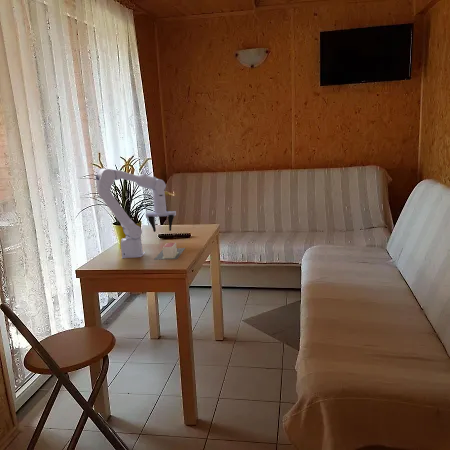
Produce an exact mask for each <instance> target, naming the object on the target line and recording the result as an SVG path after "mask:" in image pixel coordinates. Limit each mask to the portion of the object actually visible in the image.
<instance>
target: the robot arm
mask: <svg viewBox="0 0 450 450" xmlns="http://www.w3.org/2000/svg"><path fill="white" fill-rule="evenodd" d="M94 179H95V183H96V190H97V191H96V192H97V194H98V196H99V197H100V198H101V200H102V202H103V203H104V204H105V205H106V207H108V209H109V210H110V211H111V213H112V214H113V216H115V218H116V220H117V221H118V222H119V223H120V226H121V227H122V230H123V234H125V237H124V238H123V237H122V238H121V239H120V249H121V259H129V258H130V259H132V258H141V257H143V256H144V255H145V254H146V251H143V243H142V233H143V230H142V227H141V226H140V225H137V224H136V223H135V222H134V221H133V220H132V219H131V217H130V216H129V215H128V214H127V212H126V211H125V210H124V208H123V207H122V205H121V204H120V203H119V201H118V200H117V199H116V198H115V196H114V195H113V194H112V192H111V189H112V186H113V184H114V182H115V181H119V180H126V181H130V182H132V183H133V182H134V183H136V185H137V187H141V188H145V189H147V190H148V189H149V190H152V201H153V210H154V211H153V212H146V213H145V219H147V220H148V222H149V224H150V225H151V227H152V229H153V233H155V232H156V231H157V230H156V221H155V220H156V219H155V218H159V217H167V219H168V230H169V231H170V232H171V231H172V225H173V221H174V219H175V216H177V211H176V210H174V211H173V210H172V211H171V210H169V211H168V210H167V204H166V203H167V201H166V193H165V190H166V187H167V184H166V182H165V181H164V179H160V178H157V177H156V176H149V175H147V173H143V174H142V173H140V174H139V175H135V174H133V173H130V172H127V171H123V170H119V169H111V168H104V167H101V168H99V169H98V170H97V172H96V175H95V178H94Z"/></svg>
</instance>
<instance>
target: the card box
mask: <svg viewBox="0 0 450 450" xmlns="http://www.w3.org/2000/svg"><path fill="white" fill-rule="evenodd" d="M162 250H163V257H164V258H173V257H174V256H175V255H176V253H177V242H166V243H165V244H164V245H163V246H162Z"/></svg>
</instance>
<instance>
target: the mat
mask: <svg viewBox="0 0 450 450" xmlns="http://www.w3.org/2000/svg"><path fill="white" fill-rule="evenodd" d="M185 249H186V247H181V248H179V247H178V248H177V253H176V255H175V256H174V257H173V258H164V257H163V249H162V250H161V251H160V252H159V253H158V254H157V255H156V256H155V258H154V259H153V260H154V261H161V260H163V261H164V260H166V261H167V260H177V259H179V257H180V256H181V255H182V253H183V251H185Z"/></svg>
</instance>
